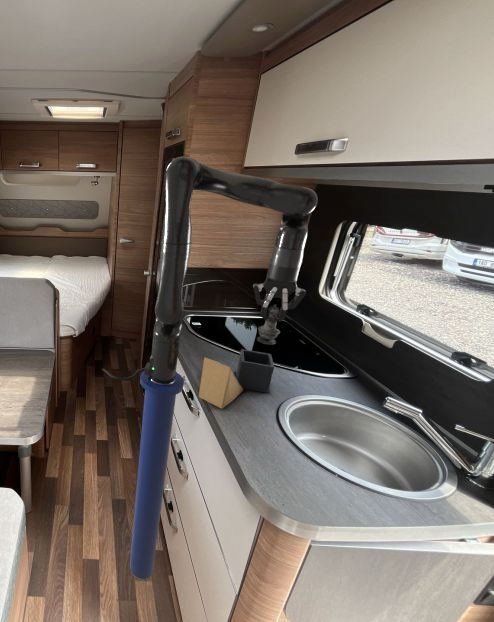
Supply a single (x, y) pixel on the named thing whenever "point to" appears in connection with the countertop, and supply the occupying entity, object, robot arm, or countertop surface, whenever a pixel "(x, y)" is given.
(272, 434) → the countertop surface
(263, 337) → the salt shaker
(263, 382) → the trash bin
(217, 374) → the sandwich container
